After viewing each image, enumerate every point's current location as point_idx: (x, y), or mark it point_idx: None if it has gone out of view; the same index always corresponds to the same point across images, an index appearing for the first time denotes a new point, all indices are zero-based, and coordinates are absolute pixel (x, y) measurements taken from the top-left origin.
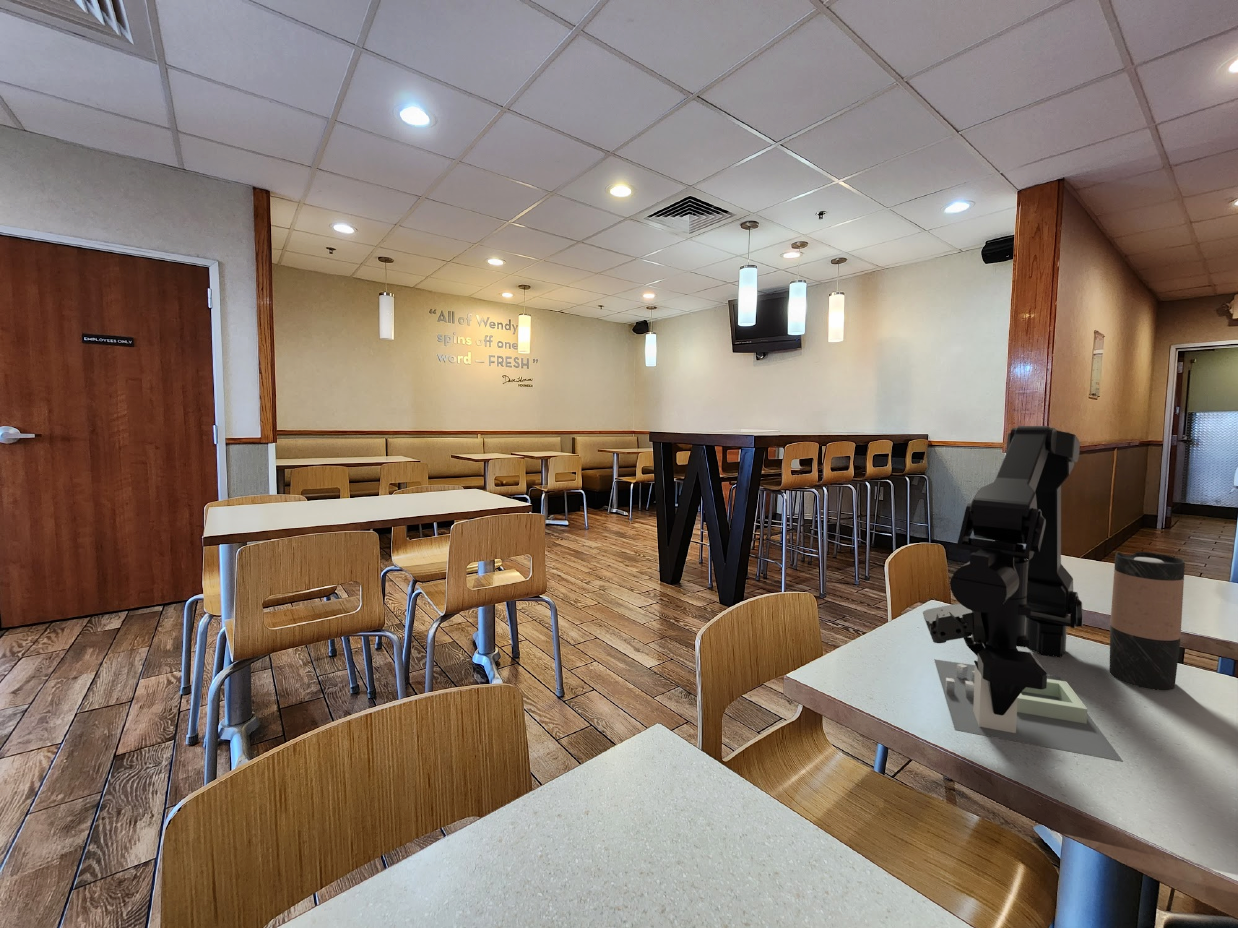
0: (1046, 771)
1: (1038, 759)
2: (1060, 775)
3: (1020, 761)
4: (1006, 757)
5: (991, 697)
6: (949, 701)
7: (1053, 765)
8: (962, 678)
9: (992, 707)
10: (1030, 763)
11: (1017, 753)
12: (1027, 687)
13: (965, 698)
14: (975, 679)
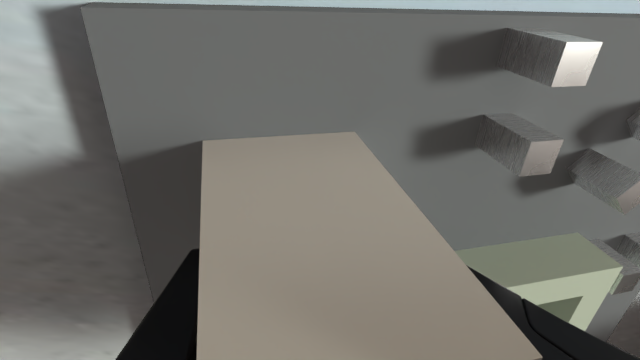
0: (31, 307)
1: (111, 291)
2: (35, 335)
3: (46, 246)
4: (42, 206)
5: (134, 332)
6: (425, 30)
7: (97, 321)
8: (630, 120)
9: (191, 265)
10: (56, 271)
11: (111, 240)
12: (539, 305)
13: (466, 111)
14: (412, 249)
